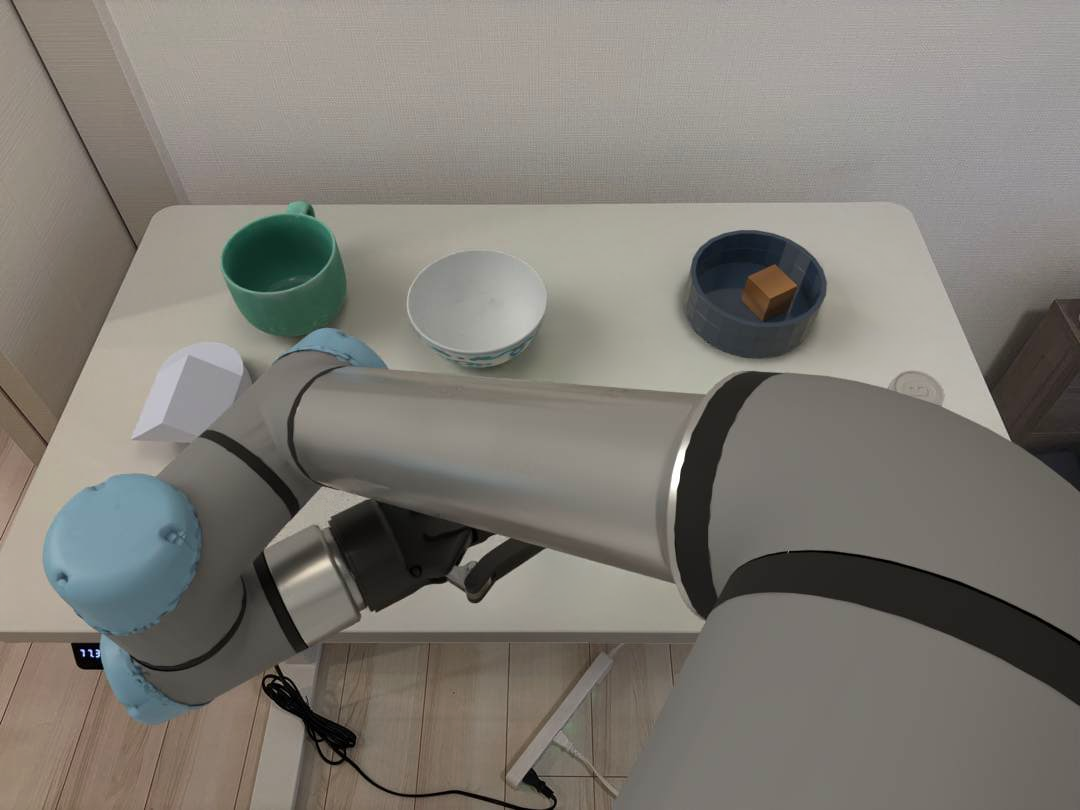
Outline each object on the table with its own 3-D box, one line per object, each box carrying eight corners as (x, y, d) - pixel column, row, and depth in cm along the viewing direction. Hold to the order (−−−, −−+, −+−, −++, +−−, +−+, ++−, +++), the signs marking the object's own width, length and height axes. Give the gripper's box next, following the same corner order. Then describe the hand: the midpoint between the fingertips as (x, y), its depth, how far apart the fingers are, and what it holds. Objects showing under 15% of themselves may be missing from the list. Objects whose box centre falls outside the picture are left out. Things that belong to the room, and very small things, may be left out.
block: (788, 309, 93) (797, 285, 90) (762, 322, 92) (770, 298, 89) (766, 288, 95) (775, 263, 92) (740, 300, 94) (747, 276, 91)
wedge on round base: (230, 461, 82) (261, 362, 89) (208, 424, 76) (243, 323, 84) (143, 457, 82) (182, 359, 89) (115, 421, 76) (159, 319, 84)
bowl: (839, 326, 93) (855, 293, 88) (737, 378, 88) (748, 346, 84) (756, 247, 100) (767, 214, 96) (658, 291, 96) (664, 258, 91)
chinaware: (571, 330, 92) (574, 283, 86) (496, 418, 85) (493, 374, 79) (467, 278, 97) (462, 231, 91) (388, 358, 90) (377, 312, 83)
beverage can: (902, 478, 81) (953, 411, 71) (855, 478, 81) (899, 411, 71) (890, 439, 84) (937, 369, 74) (844, 439, 84) (885, 368, 74)
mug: (334, 357, 90) (315, 299, 82) (228, 344, 91) (199, 286, 83) (373, 255, 99) (360, 195, 92) (277, 245, 100) (255, 184, 93)
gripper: (316, 507, 63) (569, 388, 70) (399, 683, 55) (675, 528, 62) (292, 457, 57) (571, 332, 64) (382, 646, 49) (690, 480, 56)
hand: (622, 429), depth 63 cm, fingers closed on muddler, 3 cm apart
